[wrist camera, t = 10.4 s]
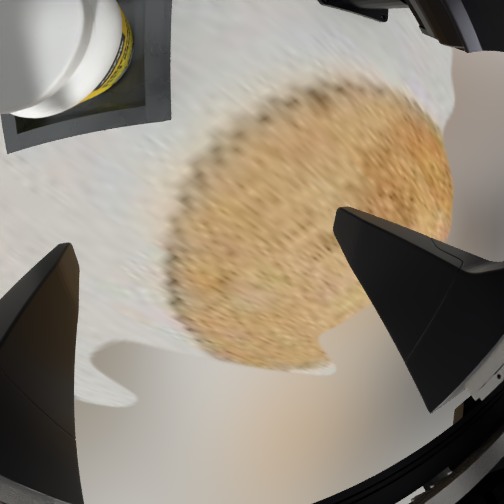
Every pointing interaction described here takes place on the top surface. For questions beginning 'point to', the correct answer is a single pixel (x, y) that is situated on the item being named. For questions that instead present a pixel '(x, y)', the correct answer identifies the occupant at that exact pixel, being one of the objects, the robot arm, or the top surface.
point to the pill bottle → (60, 53)
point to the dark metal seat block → (113, 87)
